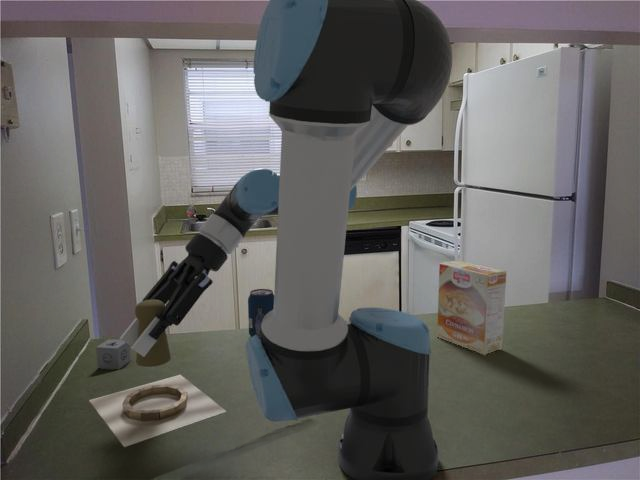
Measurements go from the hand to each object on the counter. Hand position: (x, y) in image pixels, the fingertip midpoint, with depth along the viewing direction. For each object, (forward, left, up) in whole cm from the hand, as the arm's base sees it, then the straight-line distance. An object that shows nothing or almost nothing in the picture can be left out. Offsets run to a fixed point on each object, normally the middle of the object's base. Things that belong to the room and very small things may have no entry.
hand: (131, 347), depth 91 cm
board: (-1, -3, -13) cm, 14 cm away
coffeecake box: (-16, -76, -13) cm, 79 cm away
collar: (-1, -3, -12) cm, 12 cm away
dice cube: (+27, -4, -13) cm, 30 cm away
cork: (0, -4, -3) cm, 5 cm away
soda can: (+20, -39, -13) cm, 46 cm away
